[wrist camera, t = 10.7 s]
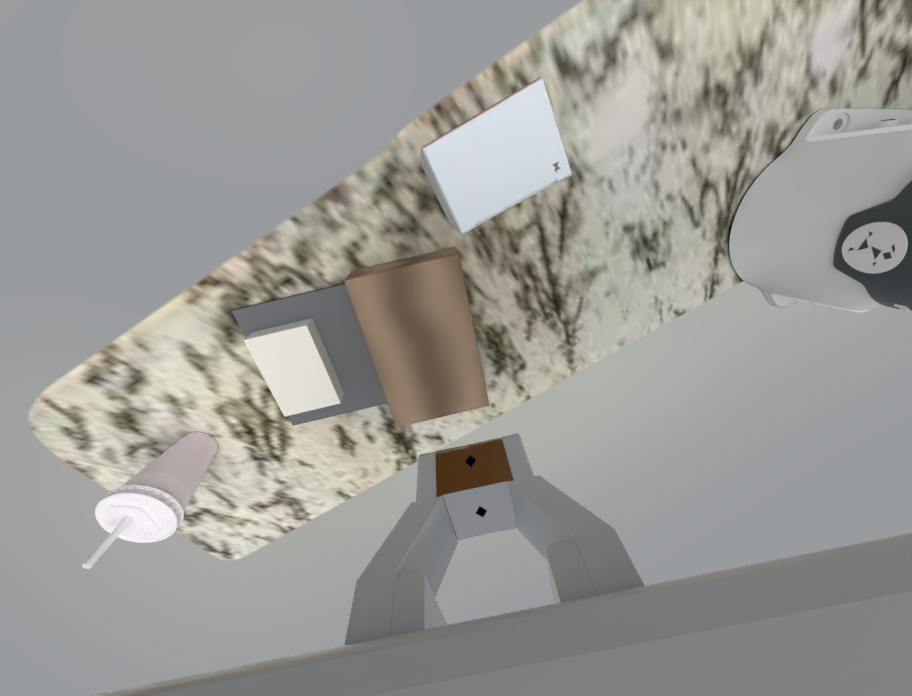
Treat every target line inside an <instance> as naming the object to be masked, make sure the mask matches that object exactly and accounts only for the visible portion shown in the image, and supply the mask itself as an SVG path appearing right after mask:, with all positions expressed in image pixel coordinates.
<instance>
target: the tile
mask: <svg viewBox="0 0 912 696" xmlns="http://www.w3.org/2000/svg"><path fill="white" fill-rule="evenodd" d="M244 342H245V344H246V346H247V348H248V350H249V352H250V353H251V355H252V357H253V359H254V361H255V363H256V365H257V366H258V368H259V370H260V372H261V374H262V376H263V377H264V379H265V381H266V383H267V385H268V387H269V389H270V390H271V392H272V394H273V396H274V398H275V400H276V402H277V403H278V405H279V407H280V409H281V411H282V413H283V414H284V416H289V415H294V414H298V413H302V412H306V411H310V410H315V409H319V408H323V407H327V406H331V405H336V404H340V403H341V401H342V398H343V395H344V391H343V389H342V386H341V384H340V382H339V379H338V377H337V374H336V372H335V370H334V367H333V365H332V363H331V360H330V358H329V356H328V353H327V351H326V349H325V346H324V344H323V342H322V339H321V337H320V334H319V332H318V330H317V327H316V325H315V323H314V320H313V318H311V319H306V320H302V321H298V322H293V323H289V324H285V325H281V326H276V327H272V328H268V329H264V330H259V331H255V332H252V333H251V334H250V335H249V336H248V337H246V338H245V339H244Z"/></svg>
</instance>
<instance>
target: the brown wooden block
mask: <svg viewBox="0 0 912 696" xmlns="http://www.w3.org/2000/svg"><path fill="white" fill-rule="evenodd" d="M344 282H345V285H346V287H347V290H348V293H349V296H350V298H351V301H352V304H353V307H354V309H355V312H356V315H357V318H358V321H359V323H360V326H361V329H362V332H363V334H364V337H365V340H366V343H367V346H368V348H369V351H370V354H371V357H372V359H373V362H374V365H375V368H376V370H377V373H378V376H379V379H380V382H381V384H382V387H383V390H384V393H385V395H386V398H387V401H388V404H389V406H390V409H391V412H392V415H393V418H394V420H395V423H396V426H397V427H401V426H405V425H409V424H413V423H418V422H422V421H426V420H430V419H434V418H439V417H443V416H447V415H451V414H455V413H460V412H464V411H468V410H472V409H476V408H481V407H485V406H489V401H488V396H487V391H486V386H485V381H484V376H483V371H482V366H481V361H480V356H479V351H478V346H477V341H476V336H475V331H474V326H473V321H472V316H471V311H470V306H469V301H468V296H467V291H466V286H465V281H464V276H463V271H462V266H461V261H460V256H459V253H458V252H457V250H456V249H455V247H453V248H448V249H444V250H440V251H435V252H431V253H427V254H423V255H418V256H414V257H410V258H405V259H401V260H397V261H393V262H388V263H384V264H380V265H375V266H371V267H367V268H363V269H358V270H354V271H352V272H351V273H350V274H349V276H348V277H347V278H346V279H345V281H344Z"/></svg>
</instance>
